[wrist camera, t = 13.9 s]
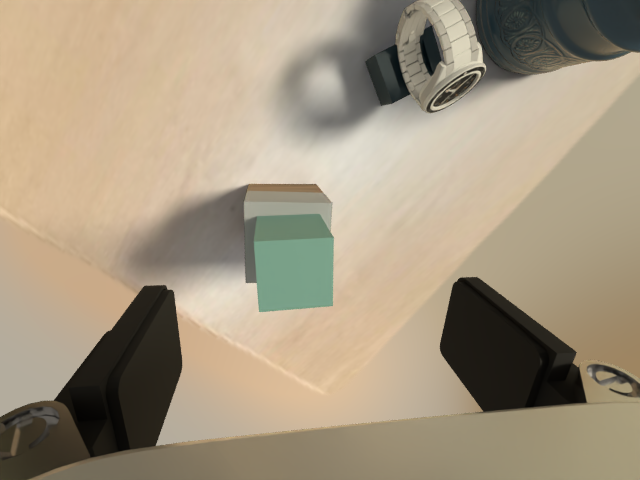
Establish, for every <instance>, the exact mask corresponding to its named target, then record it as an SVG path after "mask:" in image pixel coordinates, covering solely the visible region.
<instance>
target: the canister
mask: <svg viewBox="0 0 640 480" xmlns="http://www.w3.org/2000/svg"><path fill="white" fill-rule="evenodd" d="M476 20H477V28H478V33H479V36H480V39H481V42H482V44H483V47H484V49H485V50H486V52H487V54H488V55H489V56H490V58H491V59H492V60H493V61H494V62H495V63H496V64H497V65H499V66H500V67H502V68H503V69H505V70H508V71H510V72H514V73H521V74H542V73H547V72H552V71H555V70H558V69H561V68H563V67H567V66H572V65H577V64H581V63H586V62H591V61H607V60H612V59H615V58H619V57H621V56H624V55H626V54H628V53H630V52H637V53H640V0H477V4H476Z"/></svg>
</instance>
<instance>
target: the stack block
mask: <svg viewBox="0 0 640 480" xmlns="http://www.w3.org/2000/svg"><path fill="white" fill-rule="evenodd" d="M333 244H334V237H333V236H332V234H331V232H330V231H329V229H328V227H327V225H326V224H325V222H324V220H323V219H322V217H321V215H320V214H299V215H275V216H257V220H256V228H255V236H254V251H255V265H256V278H257V291H258V304H259V312H266V311H278V310H291V309H303V308H315V307H327V306H333Z"/></svg>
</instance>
